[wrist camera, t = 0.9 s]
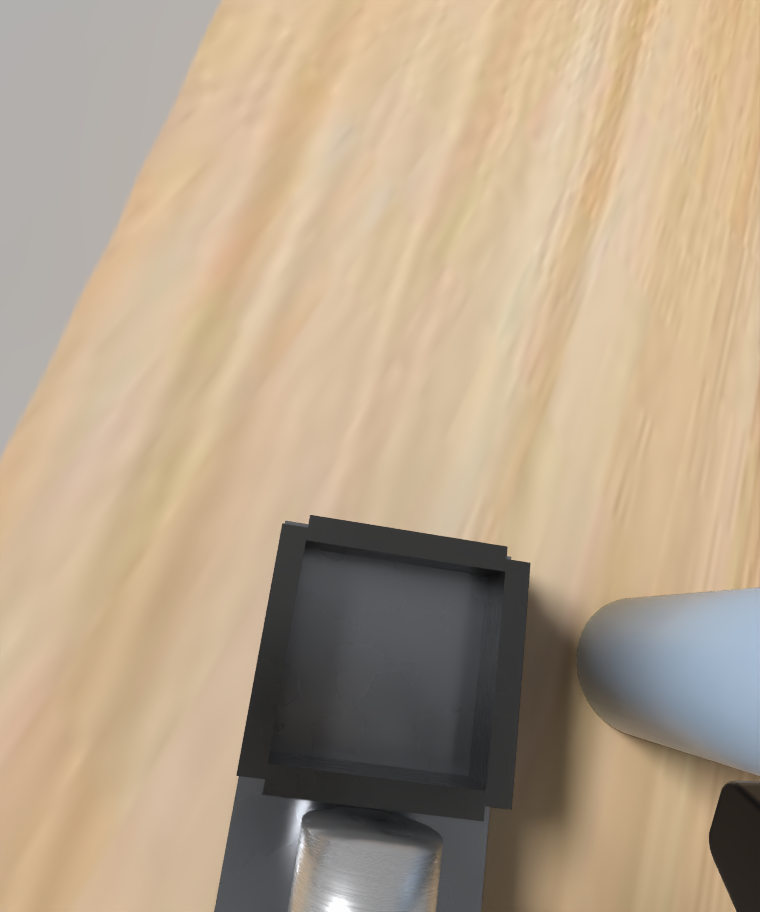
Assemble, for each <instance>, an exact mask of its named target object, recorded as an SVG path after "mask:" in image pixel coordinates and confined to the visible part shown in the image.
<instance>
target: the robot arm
mask: <svg viewBox="0 0 760 912" xmlns="http://www.w3.org/2000/svg"><path fill="white" fill-rule="evenodd" d="M709 844H710V850H711V854H712V856H713V859H714V861H715V864H716V866H717V868H718V871H719V873H720V875H721V877H722V880H723V882H724V884H725V886H726V889H727V891H728V893H729V895H730V898H731V900H732V902H733V905H734V907H735V909H736V911H737V912H760V782H756V781H731V782H728V783H727V784H726V785H725V786H724V787H723V788H722V790H721V793H720V797H719V800H718V804H717V807H716V811H715V814H714V818H713V821H712V825H711V828H710V832H709Z"/></svg>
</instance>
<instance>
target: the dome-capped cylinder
mask: <svg viewBox="0 0 760 912" xmlns="http://www.w3.org/2000/svg"><path fill="white" fill-rule="evenodd" d="M577 673H578V678H579V682H580V685H581V688H582V691H583V693H584V695H585V697H586V699H587V701H588V702H589V704H590V705H591V707H592V708H593V710H594V711H595V712H596V713H597V714H598V716H599V717H601V718H602V719H603V720H604V721H605V722H606V723H608V724H609V725H610V726H612V727H613V728H615V729H617V730H619V731H621V732H624V733H626V734H629V735H632V736H635V737H638V738H642V739H645V740H648V741H651V742H654V743H657V744H660V745H664V746H667V747H670V748H673V749H676V750H679V751H682V752H685V753H689V754H692V755H695V756H698V757H701V758H704V759H707V760H710V761H714V762H717V763H720V764H723V765H726V766H729V767H732V768H735V769H739V770H742V771H745V772H748V773H751V774H754V775H757V776H760V587H759V588H747V589H735V590H723V591H710V592H698V593H686V594H674V595H662V596H650V597H638V598H626V599H621V600H617V601H614V602H611V603H609V604H607V605H605V606H604V607H602V608H601V609H600V610H598V611H597V612H596V613H595V614H594V615H593V616H592V617H591V619H590V620H589V621H588V623H587V624H586V626H585V628H584V630H583V632H582V634H581V637H580V640H579V644H578V648H577Z"/></svg>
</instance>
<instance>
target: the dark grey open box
mask: <svg viewBox="0 0 760 912" xmlns="http://www.w3.org/2000/svg"><path fill="white" fill-rule="evenodd" d="M529 575H530V563H527V562H521V561H515V560H511V557H509V556H507V547H506V546H500V545H493V544H487V543H481V542H475V541H469V540H463V539H456V538H450V537H444V536H438V535H432V534H425V533H419V532H413V531H407V530H401V529H394V528H388V527H382V526H376V525H370V524H363V523H357V522H351V521H345V520H339V519H333V518H326V517H320V516H314V515H310V519H309V524H303V523H296V522H290V521H285V524H283V523H282V529H281V534H280V540H279V545H278V551H277V556H276V562H275V567H274V573H273V578H272V584H271V589H270V595H269V600H268V606H267V611H266V617H265V622H264V628H263V633H262V639H261V644H260V650H259V655H258V660H257V666H256V671H255V677H254V682H253V688H252V693H251V699H250V704H249V710H248V715H247V721H246V726H245V732H244V737H243V743H242V748H241V754H240V759H239V765H238V770H237V776H239V778H238V784H237V790H236V795H235V801H234V806H233V812H232V817H231V823H230V828H229V834H228V839H227V845H226V850H225V856H224V861H223V867H222V872H221V878H220V883H219V889H218V894H217V900H216V905H215V911H214V912H481V907H482V895H483V883H484V872H485V860H486V848H487V836H488V824H489V812H490V807H494V808H503V809H511V810H512V798H513V785H514V772H515V759H516V746H517V733H518V719H519V706H520V693H521V680H522V667H523V654H524V641H525V628H526V614H527V601H528V588H529Z"/></svg>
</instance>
